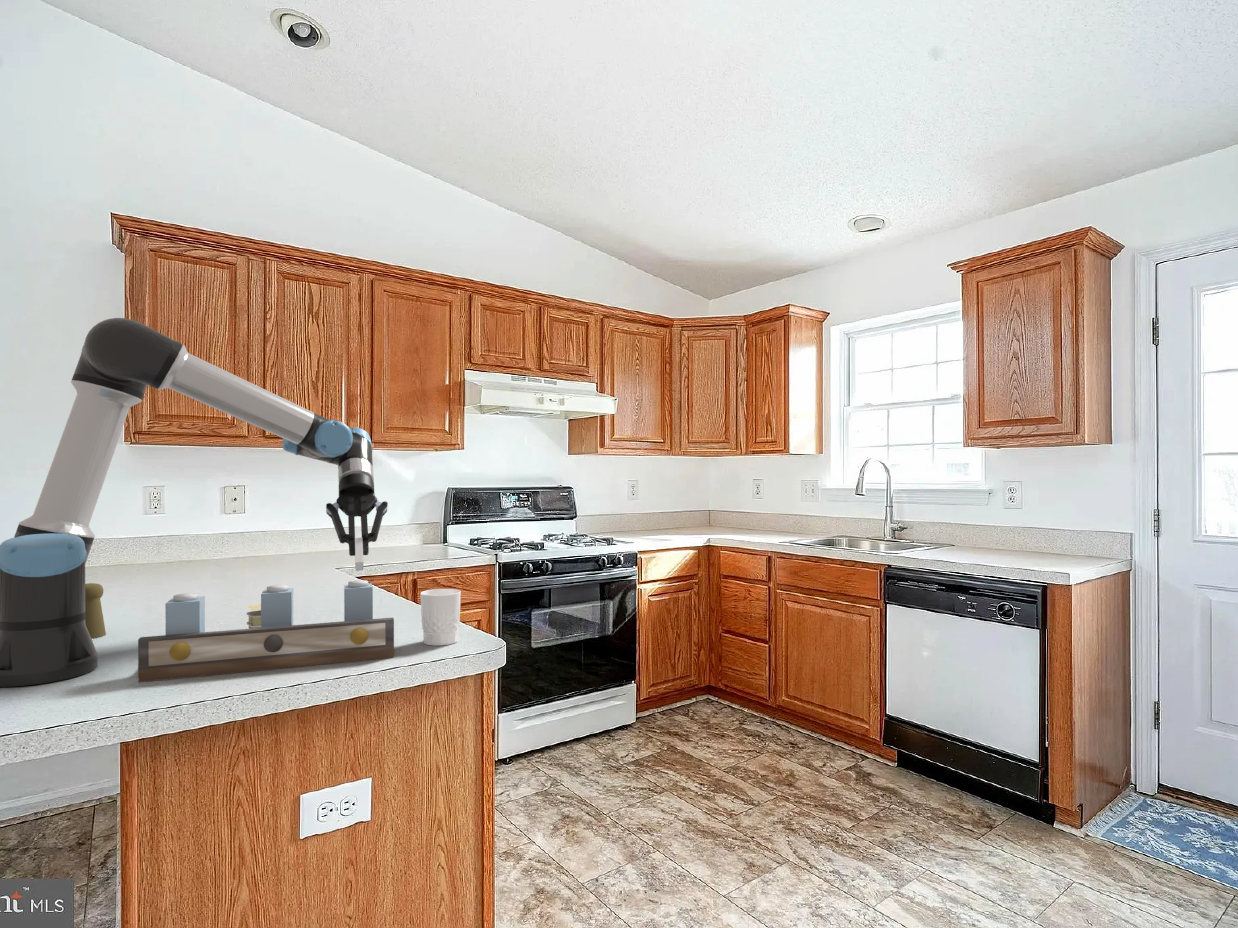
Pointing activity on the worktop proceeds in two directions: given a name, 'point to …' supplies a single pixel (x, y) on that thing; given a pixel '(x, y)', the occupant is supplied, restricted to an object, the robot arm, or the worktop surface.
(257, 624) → the stacked layers on plate
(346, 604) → the right plunger
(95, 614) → the cork
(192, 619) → the left plunger
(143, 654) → the button console
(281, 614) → the middle plunger
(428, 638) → the white cup
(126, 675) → the worktop surface
